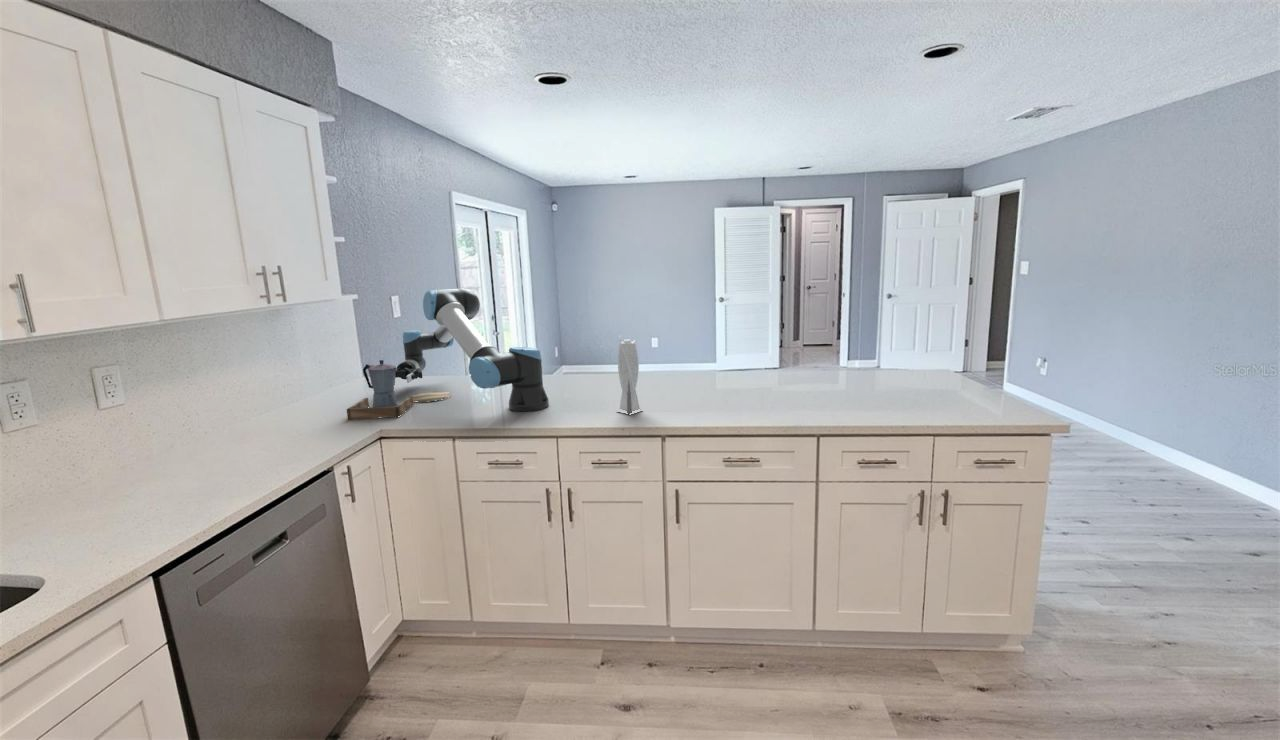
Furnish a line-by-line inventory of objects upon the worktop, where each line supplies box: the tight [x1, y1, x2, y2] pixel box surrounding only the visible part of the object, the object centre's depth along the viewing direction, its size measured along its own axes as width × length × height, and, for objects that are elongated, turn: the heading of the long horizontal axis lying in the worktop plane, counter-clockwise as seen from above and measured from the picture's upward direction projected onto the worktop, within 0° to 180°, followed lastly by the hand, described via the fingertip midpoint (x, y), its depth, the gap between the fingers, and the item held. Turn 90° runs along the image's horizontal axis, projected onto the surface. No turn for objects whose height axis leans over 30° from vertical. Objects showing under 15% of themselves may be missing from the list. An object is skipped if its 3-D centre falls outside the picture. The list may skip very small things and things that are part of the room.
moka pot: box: [362, 359, 398, 407], centre depth 216 cm, size 10×15×20 cm, turn 78°
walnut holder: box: [346, 395, 415, 421], centre depth 215 cm, size 17×18×4 cm
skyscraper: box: [617, 335, 641, 414], centre depth 205 cm, size 8×8×28 cm
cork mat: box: [412, 390, 452, 402], centre depth 236 cm, size 16×16×1 cm
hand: (390, 380), depth 225 cm, fingers open, 13 cm apart
